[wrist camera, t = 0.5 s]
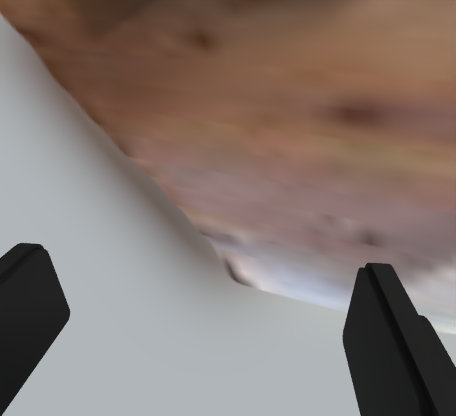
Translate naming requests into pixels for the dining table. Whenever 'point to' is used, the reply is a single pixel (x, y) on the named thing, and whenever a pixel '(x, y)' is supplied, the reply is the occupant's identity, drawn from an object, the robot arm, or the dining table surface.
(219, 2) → the dining table surface
